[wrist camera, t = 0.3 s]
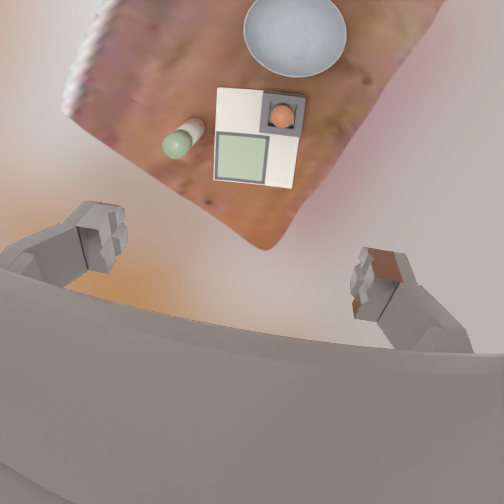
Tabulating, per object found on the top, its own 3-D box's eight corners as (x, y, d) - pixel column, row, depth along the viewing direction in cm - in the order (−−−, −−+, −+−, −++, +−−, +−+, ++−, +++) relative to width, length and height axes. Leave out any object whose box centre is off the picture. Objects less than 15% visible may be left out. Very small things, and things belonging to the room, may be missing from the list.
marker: (184, 117, 53) (162, 133, 44) (205, 118, 53) (187, 134, 44) (184, 137, 56) (162, 158, 46) (205, 138, 56) (187, 159, 46)
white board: (218, 87, 50) (213, 89, 47) (304, 95, 49) (305, 98, 46) (214, 178, 60) (210, 186, 57) (291, 186, 60) (291, 195, 57)
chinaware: (246, 71, 48) (241, 73, 41) (250, -8, 39) (245, -17, 33) (334, 79, 47) (342, 83, 41) (340, 1, 38) (349, -6, 32)
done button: (272, 102, 49) (271, 105, 46) (293, 104, 49) (294, 108, 46) (270, 121, 51) (269, 126, 48) (291, 124, 51) (292, 129, 48)
